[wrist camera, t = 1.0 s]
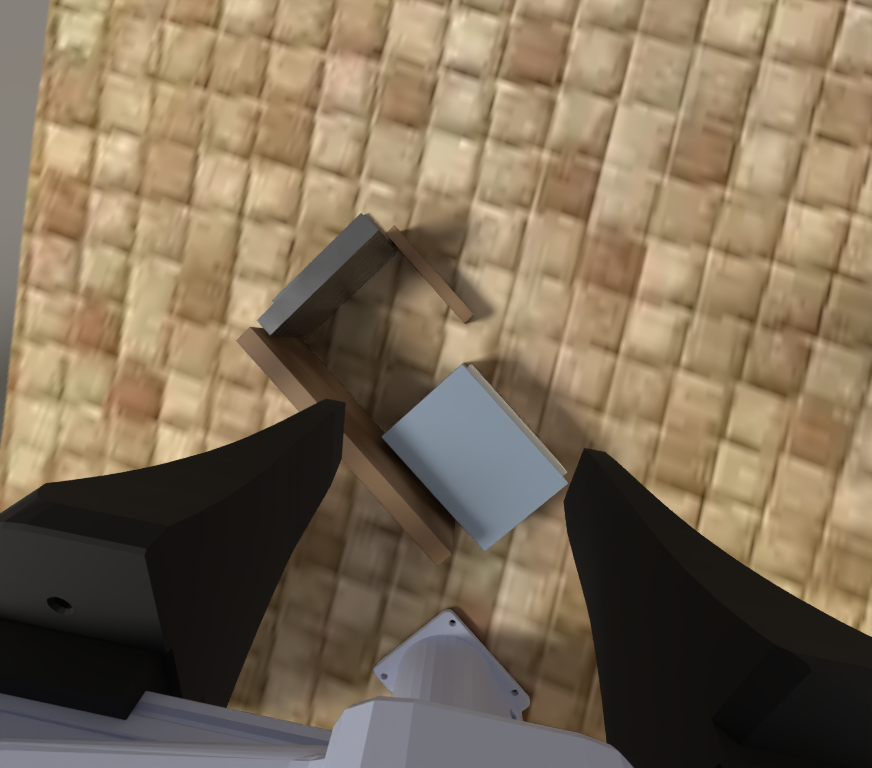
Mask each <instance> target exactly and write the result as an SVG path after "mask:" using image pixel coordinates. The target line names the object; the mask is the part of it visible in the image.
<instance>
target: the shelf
mask: <svg viewBox="0 0 872 768" xmlns="http://www.w3.org/2000/svg"><path fill="white" fill-rule="evenodd" d="M386 234H387V236H388V237H389V239H390V240H391V241H392V242H393V243H394V244H395V246H396V247H397V248H398V249H399V250H400V251H401V252H402V253H403V255H404V256H405V257H406V258H407V259H408V260H409V261H410V262H411V264H412V265H413V266H414V267H415V268H416V269H417V270H418V272H419V273H420V274H421V275H422V276H423V277H424V278H425V279H426V281H427V282H428V283H429V284H430V285H431V286H432V287H433V288H434V290H435V291H436V292H437V293H438V294H439V295H440V296H441V298H442V299H443V300H444V301H445V302H446V303H447V304H448V305H449V307H450V308H451V309H452V310H453V311H454V312H455V313H456V315H457V316H458V317H459V318H460V319H461V320H462V321H463V322H464V324H465V323H466V322H467V321H469V320H470V319H471V318H472V317H473V313H472V312H471V311H470V310H469V309H468V308H467V307H466V305H465V304H464V303H463V302H462V301H461V300H460V299H459V298H458V296H457V295H456V294H455V293H454V292H453V291H452V290H451V288H450V287H449V286H448V285H447V284H446V283H445V282H444V281H443V279H442V278H441V277H440V276H439V275H438V274H437V273H436V271H435V270H434V269H433V268H432V267H431V266H430V265H429V264H428V262H427V261H426V260H425V259H424V258H423V257H422V256H421V255H420V253H419V252H418V251H417V250H416V249H415V248H414V247H413V245H412V244H411V243H410V242H409V241H408V240H407V239H406V238H405V236H404V235H403V234H402V233H401V232H400V231H399V230H398V228H397V227H396V226H395V225H394V226H393V227H392V228H391V229H390V230H389V231H388V232H386ZM236 341H237V342H238V343H239V345H240V346H241V347H242V348H243V349H244V350H245V351H246V352H247V354H248V355H249V356H250V357H251V358H252V359H253V360H254V361H255V363H256V364H257V365H258V366H259V367H260V368H261V369H262V370H263V372H264V373H265V374H266V375H267V376H268V377H269V378H270V379H271V381H272V382H273V383H274V384H275V385H276V386H277V387H278V388H279V389H280V391H281V392H282V393H283V394H284V395H285V396H286V397H287V398H288V400H289V401H290V402H291V403H292V404H293V405H294V406H295V407H296V409H297V410H298V411H299V412H300V411H302V410H304V409H306V408H308V407H310V406H312V405H314V404H316V403H318V402H320V401H322V400H324V399H331V400H336V401H342V402H346V406H345V421H344V436H343V450H342V460H343V461H344V463H345V464H346V465H347V466H348V467H349V468H350V469H351V470H352V472H353V473H354V474H355V475H356V476H357V477H358V478H359V479H360V481H361V482H362V483H363V484H364V485H365V486H366V487H367V488H368V490H369V491H370V492H371V493H372V494H373V495H374V496H375V497H376V499H377V500H378V501H379V502H380V503H381V504H382V505H383V506H384V507H385V509H386V510H387V511H388V512H389V513H390V514H391V515H392V516H393V518H394V519H395V520H396V521H397V522H398V523H399V524H400V525H401V527H402V528H403V529H404V530H405V531H406V532H407V533H408V534H409V536H410V537H411V538H412V539H413V540H414V541H415V542H416V543H417V545H418V546H419V547H420V548H421V549H422V550H423V551H424V552H425V554H426V555H427V556H428V557H429V558H430V559H431V560H432V561H433V563H434V564H435V565H436V566H438V565H440V564H441V563H442V562H443V561H444V560H446V559H447V558H448V557H449V556H451V555H452V550H453V539H454V528H455V518H454V517H453V516H452V515H451V514H450V513H449V511H448V510H447V509H446V508H445V507H444V506H443V505H442V504H441V503H440V501H439V500H438V499H437V498H436V497H435V496H434V495H433V494H432V492H431V491H430V490H429V489H428V488H427V487H426V486H425V485H424V484H423V482H422V481H421V480H420V479H419V478H418V477H417V476H416V475H415V474H414V472H413V471H412V470H411V469H410V468H409V467H408V466H407V465H406V464H405V462H404V461H403V460H402V459H401V458H400V457H399V456H398V455H397V454H396V452H395V451H394V450H393V449H392V448H391V447H390V446H389V445H388V444H387V442H386V441H385V440H384V439H383V438H382V436H383V435H384V434H385V433H384V432H383V431H382V430H381V429H380V427H379V426H378V425H377V424H376V423H375V422H374V421H373V420H372V418H371V417H370V416H369V415H368V414H367V413H366V412H365V411H364V409H363V408H362V407H361V406H360V405H359V404H358V403H357V402H356V400H355V399H354V398H353V397H352V396H351V395H350V394H349V393H348V391H347V390H346V389H345V388H344V387H343V386H342V385H341V384H340V382H339V381H338V380H337V379H336V378H335V377H334V376H333V374H332V373H331V372H330V371H329V370H328V369H327V368H326V367H325V365H324V364H323V363H322V362H321V361H320V360H319V359H318V358H317V356H316V355H315V354H314V353H313V352H312V351H311V350H310V349H309V347H308V346H307V345H306V344H305V343H304V342H303V341H302V340H301V338H300V337H286V336H272V335H269V334H268V332H267V331H266V330H265V329H264V328H256V327H249V328H248V329H247V330H246V331H245V332H244V333H243V334H242V335H241V336H240V337H239V338H238V339H237V340H236Z"/></svg>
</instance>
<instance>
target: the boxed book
mask: <svg viewBox="0 0 872 768" xmlns="http://www.w3.org/2000/svg"><path fill="white" fill-rule="evenodd" d="M382 438H383V439H384V440H385V441H386V442H387V444H388V445H389V446H390V447H391V448H392V449H393V450H394V451H395V452H396V454H397V455H398V456H399V457H400V458H401V459H402V460H403V461H404V462H405V464H406V465H407V466H408V467H409V468H410V469H411V470H412V471H413V472H414V474H415V475H416V476H417V477H418V478H419V479H420V480H421V481H422V482H423V484H424V485H425V486H426V487H427V488H428V489H429V490H430V491H431V492H432V494H433V495H434V496H435V497H436V498H437V499H438V500H439V501H440V503H441V504H442V505H443V506H444V507H445V508H446V509H447V510H448V511H449V513H450V514H451V515H452V516H453V517H454V518H455V519H456V520H457V521H458V523H459V524H460V525H461V526H462V527H463V528H464V529H465V530H466V531H467V533H468V534H469V535H470V536H471V537H472V538H473V539H474V540H475V541H476V543H477V544H478V545H479V546H480V547H481V548H482V549H483V550H484V551H486V550H487V549H488V548H489V547H491V546H492V545H493V544H494V543H496V542H497V541H498V540H499V539H500V538H502V537H503V536H504V535H505V534H507V533H508V532H509V531H510V530H512V529H513V528H514V527H515V526H516V525H518V524H519V523H520V522H521V521H523V520H524V519H525V518H526V517H528V516H529V515H530V514H531V513H532V512H534V511H535V510H536V509H537V508H539V507H540V506H541V505H542V504H544V503H545V502H546V501H547V500H548V499H550V498H551V497H552V496H553V495H555V494H556V493H557V492H558V491H560V490H561V489H562V488H563V487H564V486H566V485H567V484H568V482H567V480H566V479H565V478H564V475H565V474H566V473H568V472H567V471H566V470H565V468H564V467H563V466H562V465H561V463H560V462H559V461H558V460H557V458H556V457H555V456H554V455H553V454H552V453H551V452H550V451H549V450H548V448H547V447H546V446H545V445H544V444H543V443H542V442H541V441H540V440H539V438H538V437H537V436H536V435H535V434H534V433H533V432H532V431H531V429H530V428H529V427H528V426H527V425H526V424H525V423H524V422H523V421H522V419H521V418H520V417H519V416H518V415H517V414H516V413H515V412H514V410H513V409H512V408H511V407H510V406H509V405H508V404H507V403H506V402H505V400H504V399H503V398H502V397H501V396H500V395H499V394H498V393H497V391H496V390H495V389H494V388H493V387H492V386H491V385H490V384H489V383H488V381H487V380H486V379H485V378H484V377H483V376H482V375H481V374H480V373H479V371H478V370H477V369H476V368H475V367H474V366H473V365H472V364H470V365H469V366H468V367H467V366H466V365H465V364H464V363H463V364H461V365H460V366H459V367H458V368H457V369H456V370H455V371H454V372H452V373H451V374H450V375H449V376H448V377H447V378H446V379H445V380H444V381H442V382H441V383H440V384H439V385H438V386H437V387H436V388H435V389H433V390H432V391H431V392H430V393H429V394H428V395H427V396H426V397H425V398H423V399H422V400H421V401H420V402H419V403H418V404H417V405H416V406H414V407H413V408H412V409H411V410H410V411H409V412H408V413H407V414H406V415H404V416H403V417H402V418H401V419H400V420H399V421H398V422H397V423H395V424H394V425H393V426H392V427H391V428H390V429H389V430H388V431H387V432H386V433H385V434H384V435H383V436H382Z"/></svg>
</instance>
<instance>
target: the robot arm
mask: <svg viewBox="0 0 872 768" xmlns="http://www.w3.org/2000/svg"><path fill="white" fill-rule="evenodd" d="M345 406H346V402H342V401H336V400H331V399H324V400H322V401H320V402H318V403H316V404H314V405H312V406H310V407H308V408H306V409H304V410H302V411H300V412H299V413H297V414H295V415H293V416H291V417H289V418H287V419H285V420H283V421H281V422H279V423H277V424H275V425H273V426H271V427H268V428H266V429H264V430H262V431H260V432H257V433H255V434H253V435H251V436H249V437H246V438H244V439H241V440H239V441H236V442H233V443H231V444H228V445H225V446H222V447H219V448H217V449H214V450H211V451H208V452H205V453H201V454H197V455H194V456H190V457H187V458H183V459H179V460H176V461H172V462H169V463H164V464H160V465H156V466H151V467H147V468H142V469H137V470H132V471H127V472H121V473H116V474H110V475H104V476H97V477H90V478H83V479H75V480H68V481H61V482H52V483H46V484H44V485H42V486H41V487H40V488H38V489H37V490H35V491H33V492H32V493H30V494H29V495H27V496H26V497H24V498H23V499H21V500H20V501H18V502H17V503H15V504H14V505H12V506H11V507H9V508H8V509H6V510H5V511H3V512H2V513H0V768H872V637H870V636H868V635H866V634H864V633H862V632H860V631H858V630H856V629H854V628H852V627H850V626H848V625H846V624H844V623H842V622H841V621H839V620H837V619H835V618H833V617H831V616H829V615H828V614H826V613H824V612H822V611H820V610H819V609H817V608H815V607H813V606H811V605H810V604H808V603H806V602H804V601H802V600H801V599H799V598H797V597H795V596H794V595H792V594H790V593H789V592H787V591H785V590H783V589H782V588H780V587H778V586H777V585H775V584H773V583H772V582H770V581H769V580H767V579H765V578H764V577H762V576H761V575H759V574H758V573H756V572H754V571H753V570H751V569H750V568H748V567H747V566H745V565H743V564H742V563H740V562H739V561H737V560H736V559H735V558H733V557H732V556H730V555H729V554H727V553H726V552H724V551H723V550H722V549H720V548H719V547H718V546H716V545H715V544H713V543H712V542H711V541H709V540H708V539H706V538H705V537H704V536H702V535H701V534H700V533H698V532H697V531H696V530H695V529H693V528H692V527H691V526H689V525H688V524H687V523H686V522H685V521H683V520H682V519H681V518H680V517H679V516H677V515H676V514H675V513H674V512H672V511H671V510H670V509H669V508H668V507H667V506H665V505H664V504H663V503H662V502H661V501H660V500H659V499H657V498H656V497H655V496H654V495H653V494H652V493H651V492H650V491H648V490H647V489H646V488H645V487H644V486H643V485H642V484H641V483H640V482H639V481H638V480H636V479H635V478H634V477H633V476H632V475H631V474H630V473H629V472H628V471H627V470H626V469H624V468H623V467H622V466H621V465H620V464H619V463H618V462H617V461H615V460H614V459H613V458H612V457H611V456H609V455H608V454H607V453H606V452H602V451H597V450H592V449H587V448H584V450H583V452H582V455H581V458H580V460H579V463H578V465H577V468H576V471H575V473H574V476H573V478H572V481H571V483H570V486H569V489H568V491H567V494H566V496H565V499H564V510H565V519H566V527H567V533H568V537H569V541H570V545H571V549H572V553H573V557H574V560H575V564H576V568H577V571H578V575H579V579H580V582H581V586H582V590H583V594H584V597H585V601H586V605H587V609H588V614H589V618H590V623H591V629H592V635H593V641H594V647H595V653H596V660H597V667H598V674H599V682H600V689H601V696H602V704H603V713H604V722H605V732H606V741H607V743H604V742H602V741H599V740H597V739H594V738H591V737H589V736H586V735H583V734H581V733H577V732H572V731H567V730H563V729H558V728H553V727H548V726H544V725H539V724H534V723H529V722H525V721H523V718H522V711H524V710H525V709H526V708H528V707H529V706H530V698H529V696H528V694H527V693H526V692H525V691H524V690H523V689H522V688H521V687H520V686H519V684H518V683H517V682H516V681H515V680H514V679H513V678H512V677H511V675H510V674H509V673H508V672H507V671H506V670H505V669H504V668H503V666H502V665H501V664H500V663H499V662H498V661H497V660H496V659H495V657H494V656H493V655H492V654H491V653H490V652H489V651H488V650H487V648H486V647H485V646H484V645H483V644H482V643H481V642H480V641H479V639H478V638H477V637H476V636H475V635H474V634H473V633H472V632H471V630H470V629H469V628H468V627H467V626H466V625H465V624H464V623H463V621H462V620H461V619H460V618H459V617H458V616H457V615H456V614H455V613H454V611H452V610H451V609H445V610H443V611H442V612H441V613H440V614H438V615H437V616H436V617H435V618H433V619H432V620H431V621H430V622H428V623H427V624H426V625H425V626H423V627H422V628H421V629H419V630H418V631H417V632H416V633H414V634H413V635H412V636H411V637H409V638H408V639H407V640H406V641H404V642H403V643H402V644H400V645H399V646H398V647H397V648H395V649H394V650H393V651H392V652H390V653H389V654H388V655H387V656H385V657H384V658H383V659H381V660H380V661H379V662H378V663H376V665H375V667H374V674H375V675H376V676H377V678H378V679H379V680H380V681H381V682H382V683H383V684H384V685H385V687H386V688H387V689H388V690H389V691H390V692H391V693H392V696H391V697H385V696H378V697H375V698H372V699H369V700H366V701H363V702H360V703H356V704H353V705H352V706H350V707H349V708H347V709H345V711H344V712H343V714H342V715H341V717H340V718H339V720H338V721H337V723H336V724H335V726H334V727H333V731H331V730H327V729H322V728H317V727H313V726H308V725H303V724H299V723H294V722H289V721H285V720H280V719H275V718H271V717H266V716H261V715H256V714H252V713H247V712H242V711H238V710H233V709H228V708H227V705H228V702H229V700H230V697H231V695H232V692H233V689H234V687H235V684H236V682H237V679H238V677H239V674H240V672H241V669H242V667H243V664H244V662H245V659H246V657H247V654H248V652H249V650H250V647H251V645H252V642H253V640H254V637H255V635H256V632H257V630H258V628H259V625H260V623H261V621H262V618H263V616H264V614H265V611H266V609H267V607H268V604H269V602H270V600H271V597H272V595H273V593H274V591H275V588H276V586H277V584H278V582H279V579H280V577H281V575H282V573H283V571H284V568H285V566H286V564H287V562H288V560H289V558H290V556H291V554H292V552H293V550H294V548H295V546H296V545H297V543H298V541H299V539H300V538H301V536H302V534H303V533H304V531H305V529H306V527H307V526H308V524H309V522H310V521H311V519H312V517H313V515H314V514H315V512H316V510H317V509H318V507H319V505H320V503H321V502H322V500H323V498H324V496H325V495H326V493H327V491H328V489H329V488H330V486H331V483H332V481H333V479H334V476H335V474H336V472H337V469H338V467H339V464H340V462H341V459H342V450H343V436H344V421H345ZM450 620H454V621H455V623H451V622H450ZM383 673H384V674H386V675H387V676H384V675H383ZM512 690H517V691H516V692H513V691H512Z"/></svg>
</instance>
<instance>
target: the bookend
mask: <svg viewBox="0 0 872 768" xmlns="http://www.w3.org/2000/svg"><path fill="white" fill-rule="evenodd" d="M395 254H396V252H395V251H394V249H393V248H392V247H391V245H390V244H389V243H388V241H387V240H386V239H385V237H384V236H383V235H382V234H381V232H380V231H379V230H378V229H377V227H376V226H375V225H374V224H373V223H372V222H371V221H370V220H369V218H368V217H367V216H366V215H364V216H363V214H362V213H361V214H360V215H359V216H358V217H357V218H356V219H355V220H354V221H352V222H351V223H350V224H349V225H348V226H347V227H346V228H345V229H344V230H343V231H342V232H341V233H340V234H339V235H338V236H337V237H336V238H335V239H334V240H333V241H332V242H331V243H330V244H329V245H328V246H327V247H326V248H325V249H324V250H323V251H322V252H321V253H320V254H319V255H318V256H317V257H316V258H315V259H314V260H313V261H312V262H311V263H310V264H309V265H308V266H307V267H306V268H305V269H304V270H303V271H302V272H301V273H300V274H299V275H298V276H297V277H296V278H295V279H294V280H293V281H292V282H290V283H289V284H288V285H287V286H286V287H285V288H284V289H283V290H282V291H281V292H280V293H279V294H278V295H277V296H276V297H275V298H274V299H273V300H272V301H273V302H274V304H273V305H272V306H271V307H270V308H269V309H268V310H267V311H266V312H265V313H264V314H263V315H262V316H261V317H260V318H259V319H258V320H257V321H258V322H259V323H260V325H261V326H262V327H263V328H264V329H265V330H266V331H267V332H268V334H269V335H272V336H286V337H300V338H308V337H309V336H310V335H311V334H312V333H313V332H314V331H315V330H316V329H317V328H318V327H319V326H320V325H321V324H322V323H323V322H324V321H325V320H327V319H328V318H329V317H330V316H331V315H332V314H333V313H334V312H335V311H336V310H337V309H338V308H339V307H340V306H341V305H342V304H343V303H344V302H345V301H346V300H347V299H349V298H350V297H351V296H352V295H353V294H354V293H355V292H356V291H357V290H358V289H359V288H360V287H361V286H362V285H363V284H364V283H365V282H366V281H367V280H368V279H370V278H371V277H372V276H373V275H374V274H375V273H376V272H377V271H378V270H379V269H380V268H381V267H382V266H383V265H384V264H385V263H386V262H387V261H388V260H389V259H391V258H392V257H393V256H394V255H395Z"/></svg>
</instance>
